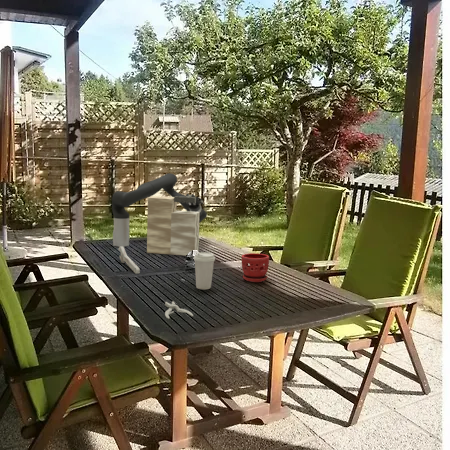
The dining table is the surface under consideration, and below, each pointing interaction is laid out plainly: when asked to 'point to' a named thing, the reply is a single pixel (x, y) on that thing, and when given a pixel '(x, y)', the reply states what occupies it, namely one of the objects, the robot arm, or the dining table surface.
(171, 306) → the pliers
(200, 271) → the coffee cup
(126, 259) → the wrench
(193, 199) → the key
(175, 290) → the dining table surface
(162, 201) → the step stand
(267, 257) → the plant pot
